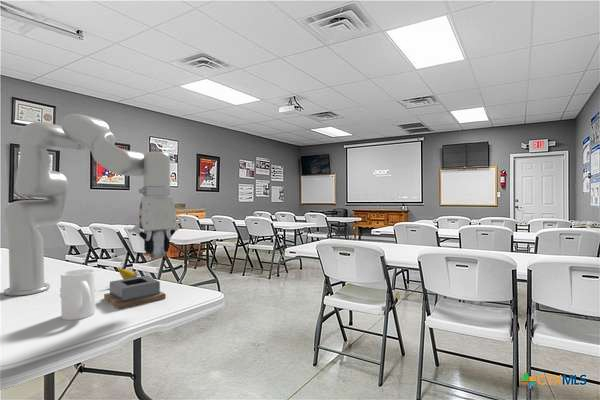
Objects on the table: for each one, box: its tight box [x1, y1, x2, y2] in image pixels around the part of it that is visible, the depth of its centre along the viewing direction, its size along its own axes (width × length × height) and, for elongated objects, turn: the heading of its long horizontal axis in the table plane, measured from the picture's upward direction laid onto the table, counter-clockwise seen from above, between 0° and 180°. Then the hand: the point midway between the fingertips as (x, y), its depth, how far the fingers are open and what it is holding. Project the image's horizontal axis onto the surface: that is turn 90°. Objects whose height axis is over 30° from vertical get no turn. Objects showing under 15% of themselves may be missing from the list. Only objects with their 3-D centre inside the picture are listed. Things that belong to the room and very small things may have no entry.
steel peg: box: [148, 230, 166, 259], centre depth 106 cm, size 4×4×9 cm
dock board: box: [103, 290, 167, 310], centre depth 112 cm, size 14×14×2 cm
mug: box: [59, 268, 96, 321], centre depth 95 cm, size 8×12×12 cm
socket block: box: [109, 275, 161, 302], centre depth 112 cm, size 11×11×4 cm
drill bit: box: [116, 267, 138, 280], centre depth 129 cm, size 5×5×10 cm
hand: (157, 251), depth 106 cm, fingers closed on steel peg, 4 cm apart
